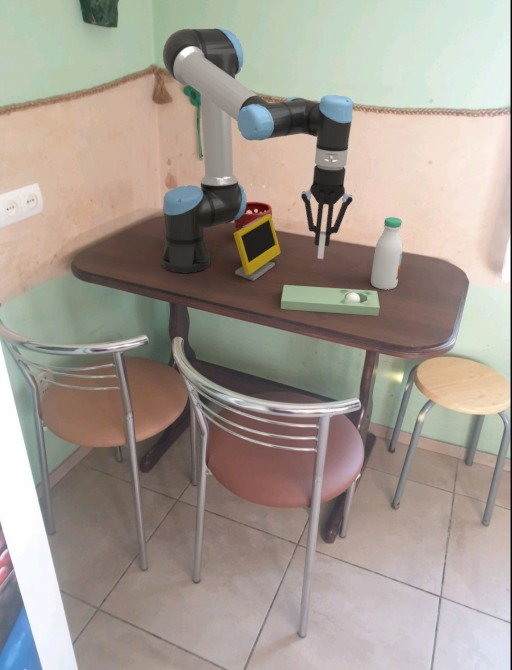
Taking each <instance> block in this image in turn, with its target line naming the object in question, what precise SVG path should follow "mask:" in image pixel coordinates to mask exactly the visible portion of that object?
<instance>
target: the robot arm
mask: <svg viewBox="0 0 512 670" xmlns="http://www.w3.org/2000/svg"><path fill="white" fill-rule="evenodd" d="M162 50H163V51H162V59H163V60H162V61H163V65H164V67H165V69H166V71H167V72H168V74H169V75H170V76H171V77H172V78H173V79H174V80H175V81H176V82H177V83H179V84H181V85H183V86H190V87H191V88H193V89H194V90H196V91H197V92H198V93H199V95H200V107H201V108H200V109H201V112H200V113H201V125H202V142H203V161H204V162H203V163H204V176H203V177H202V178H201V180H200V186H197V185H180V186H177V187H173V188H172V189H169V190H168V191H167V192H166V193H165V194H164V196H163V207H162V209H163V213H164V214H163V217H164V227H165V229H164V230H165V245H164V248H163V251H162V256H161V265H163V266H162V267H163V268H164V269H165V270H166V269H168V270H167V271H169V270H170V271H169V272H172V271H175V272H174V273H176V272H182V273H181V274H191V273H190V272H193V273H197V271H198V272H201V271H205V270H206V269H207V268H209V267H210V265H211V255H210V252H209V250H208V247H207V245H206V242H205V234H204V233H205V229H208V228H212V227H216V226H219V225H220V226H221V225H223V224H230V223H232V222H234V221H235V220H237V219H239V218H240V217H241V216H242V215H243V213H244V211H245V209H246V202H248V201H247V194H246V192H244V191H245V189H244V187H243V186H242V184H240V183H239V179H238V178H237V177H236V176H235V175H234V167H233V166H234V165H233V162H234V161H233V137H232V136H233V133H232V119H234V120H235V121H236V122H237V129H238V131H239V132H240V134H241V135H240V136H242V137H243V138H244V139H245V140H247V141H263V140H268V139H273V138H280V137H287V136H294V135H300V134H303V135H308V136H312V137H316V145H315V146H316V147H315V155H314V156H315V157H314V164H315V165H314V167H313V176H312V177H313V178H312V183H311V185H310V189H307V190H306V191H302V192H301V199H302V201H303V203H304V208H305V213H306V219H307V227H308V231H309V232H313V233H314V235H315V236H314V245H315V246H318V249H317V259H320V260H324V253H325V247H329V246H330V241H331V236H332V234H337V233H338V232H339V229H340V228H341V225H342V222H343V219H344V216H345V214H346V212H347V209H348V206H350V204H351V203H352V202H353V199H354V198H353V195H352V194H349V193H348V192H346V188H345V186H344V185H345V179H346V178H345V176H346V168H345V167H346V166H347V160H348V153H349V140H350V134H351V127H352V121H353V109H354V108H353V106H354V105H353V104H354V101H353V99H351V98H350V97H348V96H345V95H337V94H335V95H333V94H331V95H330V94H329V95H324V96H322V97H321V98H320V102H319V101H318V102H317V101H314V100H311V99H310V100H309V99H305V98H304V97H303V98H302V97H289V98H287V99H286V100H285V101H279V102H269V101H267V100H265V99H264V98H262V97H261V96H259V95H258V94H257V93H255V92H254V91H252V90H251V89H249V88H248V87H247V86H245V85H244V84H242V82H240V81H238V80H237V79H236V76H237V75H238V74H239V73H241V70H242V67H243V65H244V51H243V48H242V44H241V42H240V40H239V39H238V37H237V35H236V34H235V33H233V32H232V31H231V30H229V29H223V28H183V29H179V30H176V31H174V32H173V33H172V34H171V35H170V36H169V37H168V38H167V40H166V42H165V43H164V45H163V49H162ZM312 196H313V198H314V199H315V202H316V203H317V204H318V205H317V216H316V225H314V219H313V212H312V205H311V204H312V203H311V199H312ZM341 198H342V203H341V205H340V209H339V211H338V214H337V216H336V219H335V221H334V224H333V226H332V223H333V216H334V209H335V208H334V206H335V204H337V203H338V202H339V200H340V199H341ZM324 205H327V206H328V208H327V217H326V227H325V230H324V231H323V230H321V229H322V222H323V221H322V219H323V212H324V211H323V210H324ZM188 272H189V273H188Z"/></svg>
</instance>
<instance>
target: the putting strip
mask: <svg viewBox="0 0 512 670" xmlns="http://www.w3.org/2000/svg"><path fill="white" fill-rule="evenodd" d="M349 293H356V294H358V295H359V297H360V303H357V302H350V301H348V300H346V299H345V298H346V296H347V295H348V294H349ZM380 308H381V307H380V300H379V295H378V291H377V290H368V289H353V288H337V287H336V288H335V287H325V286H324V287H322V286H309V285H308V286H306V285H290V284H283V289H282V294H281V300H280V309H281V310H290V311H291V310H292V311H306V312H319V313H334V314H345V315H347V314H348V315H362V316H363V315H364V316H374V317H375V316H376V317H378V316H379V314H380Z"/></svg>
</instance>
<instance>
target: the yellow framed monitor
mask: <svg viewBox="0 0 512 670" xmlns="http://www.w3.org/2000/svg"><path fill="white" fill-rule="evenodd" d="M272 217H273V216H272ZM272 217H271V214H267V215H265V216H263V217H259V218H257V219H255V220H254V221H252V222H250V223H248V224H246V225H245V226H243V228H242V229H240V230H238V231H237V230H236V231H235V232H234V233H233V236H234V241H235V243H236V247H237V250H238V254H239V257H240V261H241V264H242V266H240V267H239V268H237V269H236V270H235V271H234V274H235V275H237V276H239V277H242V278H244V279H247V280H250V281H252V282H254V281H256V280H257V279H258V278H259V277H261V276H262V275H263V274H265V273H266V272H268V271H269V270H270V269H272V268H273V267H275V265H276V264H275V262H273V261H271V260H273V259H275V258H276V257H277V256H279V255H280V254H281V248H280V244H279V240H278V237H277V234H276V230H275V225H274V222H273V218H272Z"/></svg>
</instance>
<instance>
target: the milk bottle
mask: <svg viewBox="0 0 512 670" xmlns="http://www.w3.org/2000/svg"><path fill="white" fill-rule="evenodd" d="M402 223H403V222H402V219H401V218H398V217H395V216H392V217H386V218H385V219H384V225H383V227H384V229H383V231H382V234H381V235H380V237H379V238H378V240H377V241H376V242H377V243H376V245H375V249H374V255H373V262H372V270H371V276H370V283H371V286H373V287H374V288H376V289H379V290H386V291H388V290H393V289H395V288H396V287H397V285H398V282H399V276H400V275H399V274H400V271H401V270H400V269H401V263H402V257H403V249H404V248H403V240H402V238H401V233H400V230H401V226H402ZM387 289H388V290H387Z"/></svg>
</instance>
